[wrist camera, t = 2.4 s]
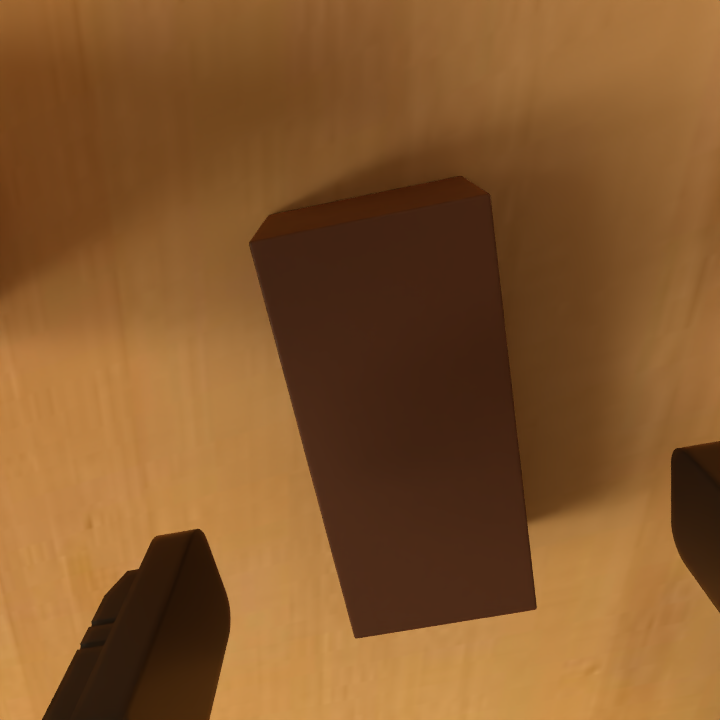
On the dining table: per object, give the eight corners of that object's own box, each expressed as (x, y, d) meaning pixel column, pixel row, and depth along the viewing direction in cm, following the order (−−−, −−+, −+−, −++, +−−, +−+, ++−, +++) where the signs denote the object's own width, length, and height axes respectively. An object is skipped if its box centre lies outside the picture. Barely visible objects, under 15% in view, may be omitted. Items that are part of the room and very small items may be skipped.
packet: (508, 530, 18) (537, 610, 15) (353, 556, 18) (354, 640, 15) (462, 174, 14) (490, 193, 11) (267, 215, 14) (247, 242, 11)
